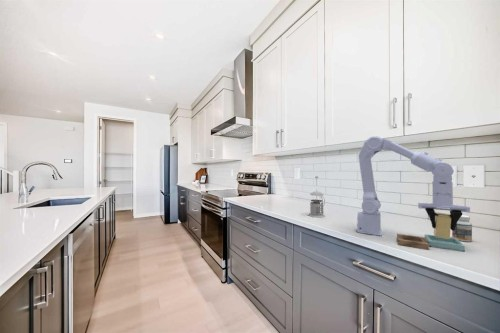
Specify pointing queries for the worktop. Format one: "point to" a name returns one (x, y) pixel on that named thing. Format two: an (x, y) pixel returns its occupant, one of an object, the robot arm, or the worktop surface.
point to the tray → (445, 243)
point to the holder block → (412, 241)
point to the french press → (316, 205)
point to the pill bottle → (463, 229)
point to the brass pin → (442, 225)
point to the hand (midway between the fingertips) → (442, 228)
